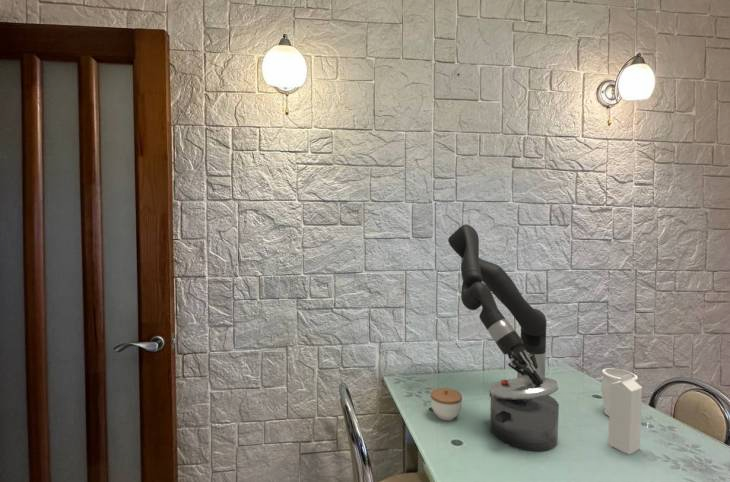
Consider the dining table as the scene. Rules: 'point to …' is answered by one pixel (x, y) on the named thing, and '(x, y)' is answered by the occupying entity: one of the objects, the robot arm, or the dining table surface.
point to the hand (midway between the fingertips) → (540, 384)
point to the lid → (522, 388)
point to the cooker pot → (525, 422)
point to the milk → (625, 415)
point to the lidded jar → (446, 403)
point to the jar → (611, 377)
